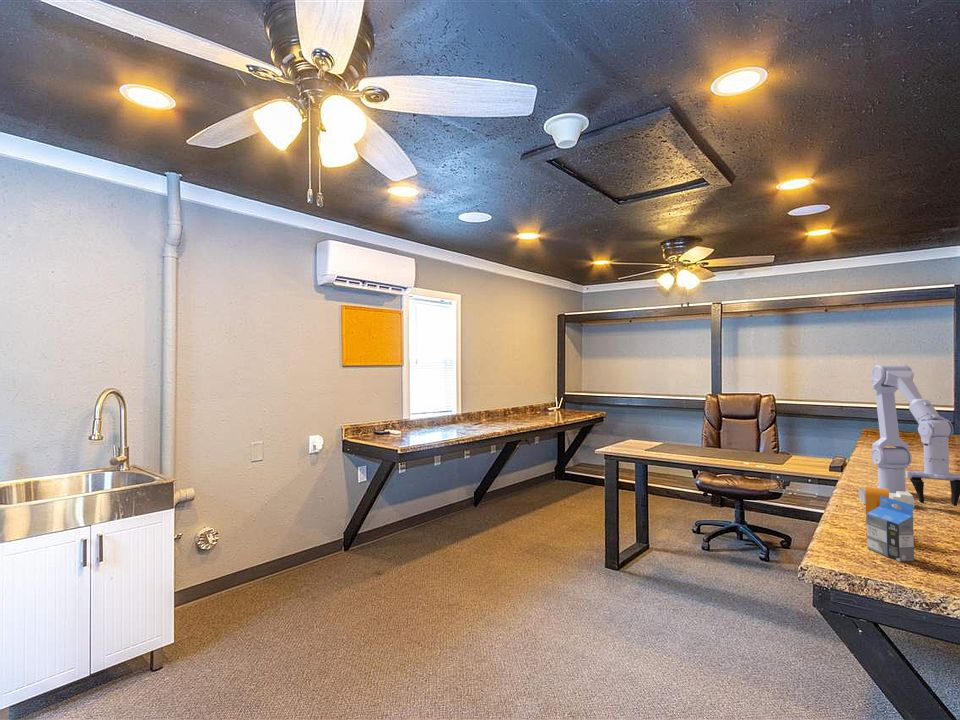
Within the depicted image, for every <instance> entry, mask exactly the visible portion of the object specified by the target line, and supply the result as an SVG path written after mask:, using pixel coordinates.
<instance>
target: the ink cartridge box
mask: <svg viewBox="0 0 960 720" xmlns="http://www.w3.org/2000/svg"><path fill="white" fill-rule="evenodd" d="M891 504H893V505H895V504H897V506H900V507H892V506H891ZM866 523H867V534H866V545H867V547H866V548H867V549H868V550H870V551H873V552H874V553H875V552H876V553H878V554H880V555H883V556H885V557H888V558H890V559H892V560H894V561H897V562H900V563H908V562H909V563H910V562H911V563H912V562H914V561H915V545H914V544H915V542H914V538H915V537H914V508H913V505H912V504H908V503H904V502H901V501H897V500H894V499H890V498H887V497H883V496H880V506H879V507H878V508H876V509H874V510H872V511H870V512H868V513H867V514H866V513H865V524H866Z"/></svg>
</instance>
